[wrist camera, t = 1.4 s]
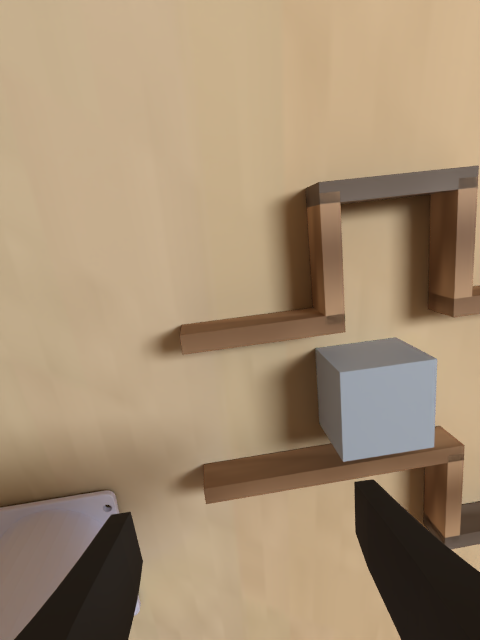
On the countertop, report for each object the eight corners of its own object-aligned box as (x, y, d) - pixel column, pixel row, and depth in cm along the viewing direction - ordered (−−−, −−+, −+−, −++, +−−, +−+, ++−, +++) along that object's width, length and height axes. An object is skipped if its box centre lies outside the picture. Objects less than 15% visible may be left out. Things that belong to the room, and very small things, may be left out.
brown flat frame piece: (573, 495, 26) (607, 519, 24) (218, 561, 24) (220, 593, 22) (622, 154, 20) (672, 145, 18) (163, 203, 18) (158, 198, 16)
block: (394, 411, 23) (434, 447, 19) (318, 422, 22) (343, 461, 18) (394, 336, 22) (437, 359, 18) (314, 347, 21) (339, 372, 17)
